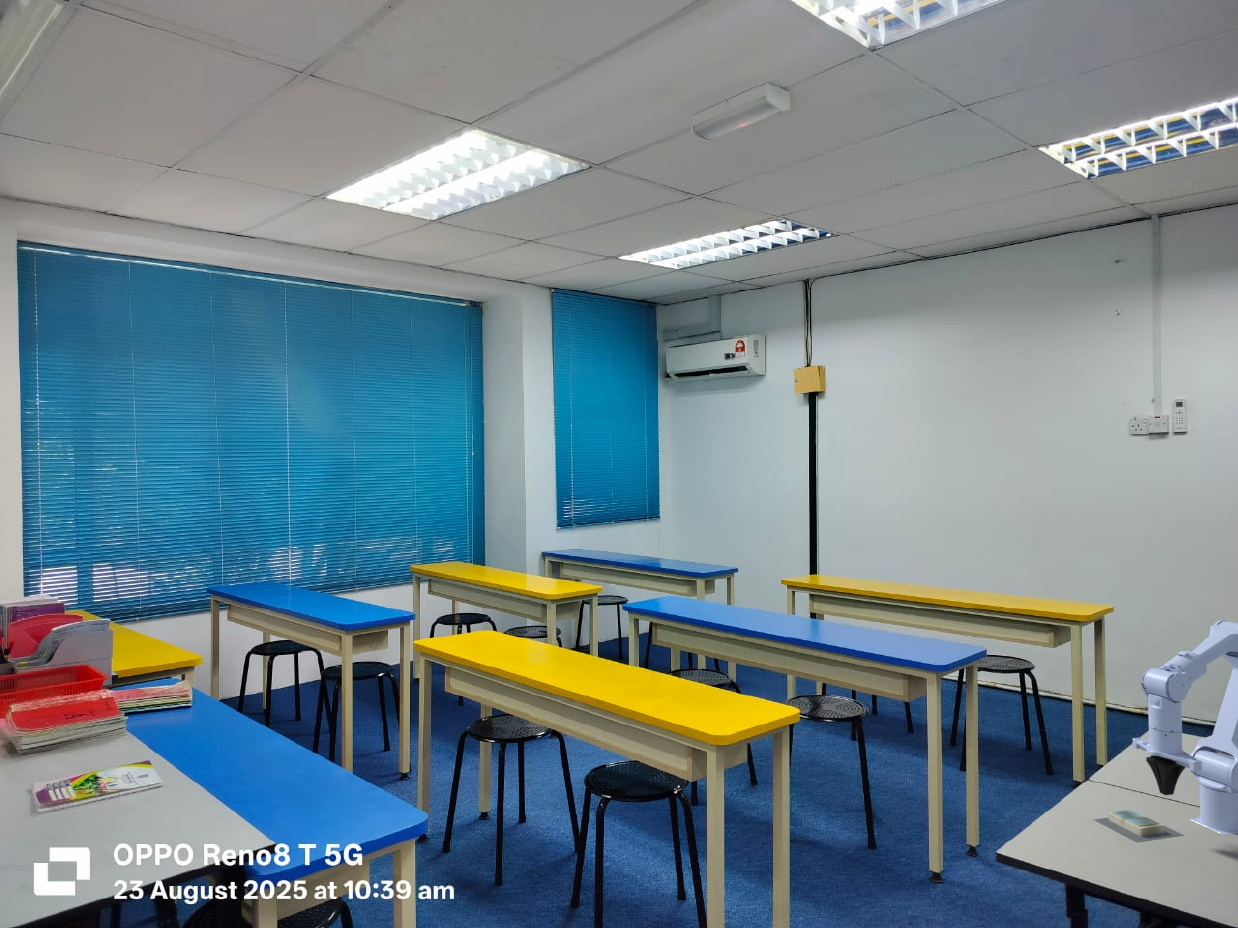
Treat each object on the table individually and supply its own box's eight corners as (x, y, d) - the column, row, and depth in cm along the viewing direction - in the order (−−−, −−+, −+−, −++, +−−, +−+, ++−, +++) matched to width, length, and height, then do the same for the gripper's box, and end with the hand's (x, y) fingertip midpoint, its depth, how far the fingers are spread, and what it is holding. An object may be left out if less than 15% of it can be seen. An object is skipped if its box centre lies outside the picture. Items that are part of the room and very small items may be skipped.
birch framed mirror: (1164, 832, 167) (1131, 816, 175) (1163, 824, 167) (1131, 808, 175) (1140, 836, 166) (1108, 819, 174) (1140, 827, 166) (1108, 811, 174)
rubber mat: (1138, 814, 177) (1138, 813, 177) (1184, 836, 166) (1184, 835, 166) (1093, 821, 174) (1093, 819, 174) (1136, 844, 164) (1136, 842, 164)
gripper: (1120, 719, 172) (1121, 782, 172) (1180, 741, 158) (1182, 809, 158) (1147, 716, 174) (1148, 778, 173) (1209, 738, 159) (1211, 806, 159)
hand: (1166, 793), depth 166 cm, fingers closed
